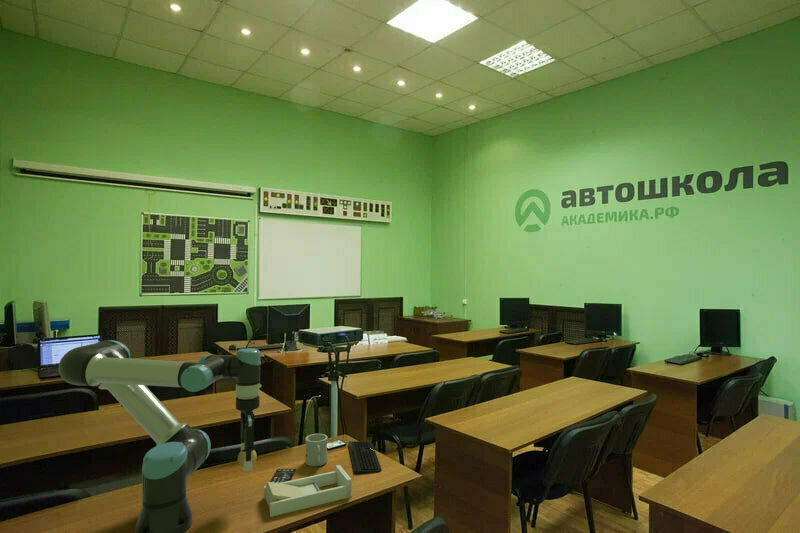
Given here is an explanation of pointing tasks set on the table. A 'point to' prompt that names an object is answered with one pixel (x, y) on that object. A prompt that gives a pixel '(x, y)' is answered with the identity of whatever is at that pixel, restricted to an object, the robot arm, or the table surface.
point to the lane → (307, 492)
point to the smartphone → (283, 475)
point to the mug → (316, 449)
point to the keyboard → (363, 457)
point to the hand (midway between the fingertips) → (246, 465)
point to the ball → (241, 454)
